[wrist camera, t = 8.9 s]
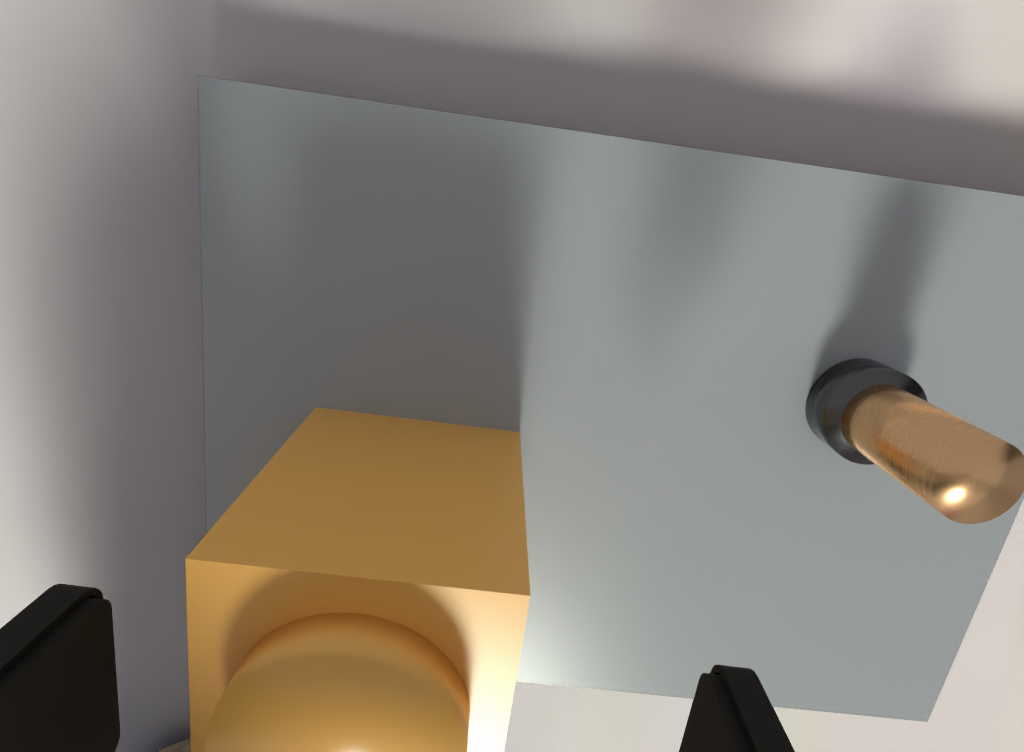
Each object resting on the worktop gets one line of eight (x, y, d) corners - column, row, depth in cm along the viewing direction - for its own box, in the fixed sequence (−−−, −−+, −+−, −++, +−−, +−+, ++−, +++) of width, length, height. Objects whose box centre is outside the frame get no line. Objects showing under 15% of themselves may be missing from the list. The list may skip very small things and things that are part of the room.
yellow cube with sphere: (520, 431, 14) (532, 635, 8) (494, 601, 16) (487, 894, 9) (315, 406, 14) (152, 596, 8) (308, 581, 15) (165, 868, 9)
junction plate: (1082, 211, 14) (1146, 214, 13) (894, 680, 18) (927, 721, 17) (230, 87, 13) (197, 75, 12) (232, 612, 17) (208, 650, 16)
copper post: (874, 348, 15) (1067, 431, 10) (848, 427, 16) (1017, 545, 11) (790, 337, 15) (941, 415, 10) (767, 417, 16) (898, 531, 11)
